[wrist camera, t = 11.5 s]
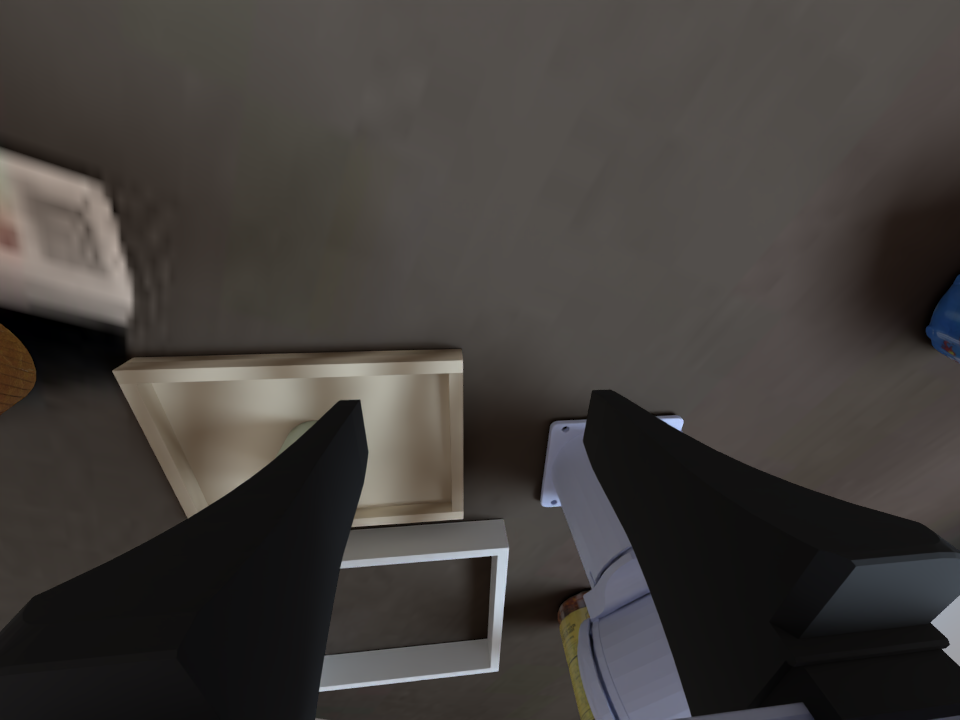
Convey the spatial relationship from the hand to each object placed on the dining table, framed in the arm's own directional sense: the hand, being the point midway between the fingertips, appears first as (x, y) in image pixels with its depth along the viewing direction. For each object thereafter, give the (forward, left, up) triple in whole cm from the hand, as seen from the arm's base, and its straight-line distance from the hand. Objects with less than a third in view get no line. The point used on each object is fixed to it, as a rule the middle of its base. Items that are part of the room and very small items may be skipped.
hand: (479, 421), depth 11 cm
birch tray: (+9, +9, -10) cm, 16 cm away
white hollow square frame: (+6, +27, -10) cm, 30 cm away
